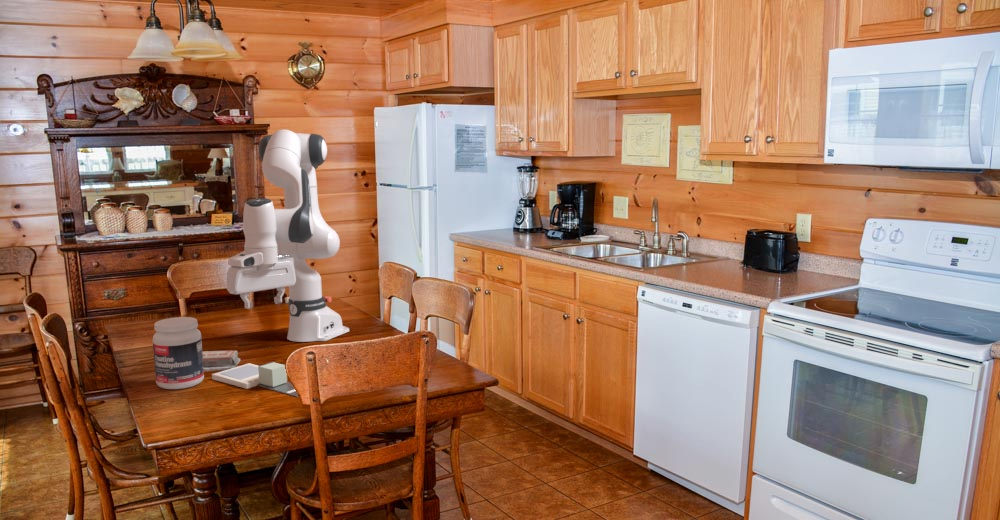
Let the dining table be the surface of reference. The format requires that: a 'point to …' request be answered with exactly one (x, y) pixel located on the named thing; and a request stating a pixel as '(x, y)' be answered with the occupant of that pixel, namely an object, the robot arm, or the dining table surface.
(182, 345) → the supplement tub
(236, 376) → the board
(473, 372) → the dining table surface
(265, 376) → the pale green cube
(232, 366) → the packaged product
